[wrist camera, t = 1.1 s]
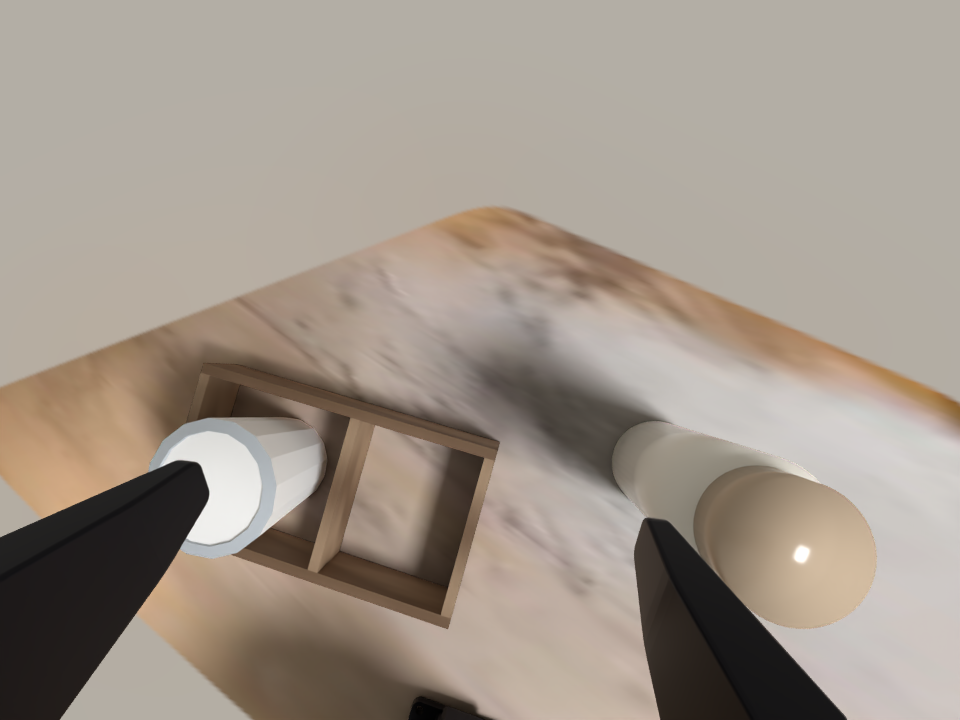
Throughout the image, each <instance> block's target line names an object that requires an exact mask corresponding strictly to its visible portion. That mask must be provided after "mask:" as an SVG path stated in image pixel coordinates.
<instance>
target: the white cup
mask: <svg viewBox="0 0 960 720" xmlns="http://www.w3.org/2000/svg"><path fill="white" fill-rule="evenodd" d="M176 460H186V461H194V462H197V463H199V464H200V465H201V467H202V470H203V473H204V476H205V479H206V482H207V485H208V488H209V491H210V495H209V499H208V502H207V504H206V506H205V508H204V509H203V511H202V513H201V514H200V516H199V518H198V519H197V521H196V523H195V524H194V526H193V528H192V529H191V531H190V533H189V534H188V536H187V538H186V539H185V541H184V543H183V544H182V546H181V548H180V550H182V551H183V552H185V553H186V554H190V555H195V556H200V557H205V558H210V559H213V558H217V557H222V556H226V555H230V554H234V553H238V552H239V551H240V550H242V549H243V548H244V547H246V546H247V545H248V544H250V543H251V542H252V541H254V540H255V539H256V538H258V537H259V536H260V535H261V534H263V533H264V532H265V531H266V530H268V529H269V528H270V527H271V526H273V525H274V524H275V523H276V522H278V521H279V520H280V519H281V518H282V517H284V516H285V515H286V514H287V513H289V512H290V511H291V510H292V509H294V508H295V507H296V506H297V505H299V504H300V503H301V502H302V501H304V500H305V499H306V498H307V497H309V496H310V495H311V494H312V493H314V492H315V491H316V490H317V488H318V487H319V485H320V483H321V482H322V480H323V478H324V476H325V472H326V466H327V454H326V450H325V445H324V442H323V440H322V439H321V437H320V436H319V435H318V433H317V432H316V430H315V429H314V428H313V427H311V426H310V425H308V424H306V423H305V422H303V421H302V420H299V419H293V418H287V417H242V418H206V419H202V420H198V421H194V422H190V423H187V424H183V425H182V426H181V427H180V428H178V429H177V430H176V431H174V432H173V433H172V434H171V435H169V436H168V437H167V438H165V439H164V440H163V442H162V443H161V445H160V447H159V448H158V450H157V452H156V454H155V455H154V457H153V459H152V460H151V462H150V466H149V472H150V471H153V470H155V469H157V468H160V467H162V466H164V465H166V464H169V463H171V462H173V461H176Z"/></svg>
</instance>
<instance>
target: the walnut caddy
mask: <svg viewBox="0 0 960 720" xmlns="http://www.w3.org/2000/svg"><path fill="white" fill-rule="evenodd" d="M240 385H244V386H247V387H250V388H254V389H257V390H260V391H264V392H267V393H270V394H274V395H277V396H280V397H284V398H287V399H290V400H294V401H297V402H300V403H304V404H307V405H310V406H313V407H317V408H320V409H323V410H327V411H330V412H333V413H337V414H340V415H343V416H347V417H350V421H349V425H348V428H347V432H346V436H345V439H344V443H343V446H342V450H341V453H340V457H339V460H338V464H337V467H336V471H335V474H334V478H333V481H332V485H331V488H330V492H329V496H328V499H327V503H326V506H325V510H324V513H323V517H322V520H321V524H320V527H319V531H318V534H317V538H316V541H315V543H313V542H310V541H307V540H304V539H301V538H298V537H295V536H292V535H289V534H286V533H283V532H280V531H277V530H274V529H271V528H269V529H268V530H266V531H265V532H264V533H263V534H261V535H260V536H259V537H258V538H256V539H255V540H254V541H252V542H251V543H250V544H248V545H247V546H246V547H244V548H243V549H242V550H240V551H239V552H238V553H234V554H231V555H233V556H236V557H239V558H242V559H245V560H248V561H251V562H254V563H257V564H260V565H263V566H265V567H268V568H271V569H274V570H277V571H280V572H283V573H286V574H289V575H292V576H295V577H297V578H300V579H303V580H306V581H309V582H312V583H315V584H318V585H321V586H324V587H327V588H329V589H332V590H335V591H338V592H341V593H344V594H347V595H350V596H353V597H356V598H359V599H361V600H364V601H367V602H370V603H373V604H376V605H379V606H382V607H385V608H388V609H391V610H394V611H396V612H399V613H402V614H405V615H408V616H411V617H414V618H417V619H420V620H423V621H426V622H428V623H431V624H434V625H437V626H440V627H443V628H446V629H448V627H449V624H450V620H451V617H452V613H453V609H454V606H455V602H456V599H457V595H458V591H459V588H460V584H461V581H462V577H463V573H464V570H465V566H466V563H467V559H468V555H469V552H470V548H471V545H472V541H473V537H474V534H475V530H476V527H477V523H478V519H479V516H480V512H481V509H482V505H483V501H484V498H485V494H486V491H487V487H488V483H489V480H490V476H491V473H492V469H493V465H494V462H495V458H496V455H497V451H498V447H499V444H500V442H498V441H494V440H491V439H487V438H484V437H481V436H477V435H474V434H471V433H467V432H464V431H460V430H457V429H454V428H450V427H447V426H443V425H440V424H437V423H433V422H430V421H427V420H423V419H420V418H416V417H413V416H410V415H406V414H403V413H399V412H396V411H393V410H389V409H386V408H383V407H379V406H376V405H372V404H369V403H366V402H362V401H359V400H356V399H352V398H349V397H345V396H342V395H339V394H335V393H332V392H328V391H325V390H322V389H318V388H315V387H312V386H308V385H305V384H301V383H298V382H295V381H291V380H288V379H285V378H281V377H278V376H274V375H271V374H268V373H264V372H261V371H257V370H254V369H251V368H247V367H244V366H241V365H237V364H217V363H203V366H202V370H201V373H200V377H199V380H198V384H197V387H196V391H195V394H194V398H193V401H192V405H191V408H190V411H189V415H188V418H187V422H186V424H187V423H190V422H194V421H198V420H202V419H206V418H230V417H231V414H232V410H233V407H234V403H235V400H236V396H237V393H238V389H239V386H240ZM375 425H377V426H380V427H383V428H387V429H390V430H393V431H397V432H400V433H403V434H407V435H410V436H413V437H417V438H420V439H423V440H427V441H430V442H433V443H437V444H440V445H443V446H447V447H450V448H453V449H457V450H460V451H463V452H467V453H470V454H473V455H477V456H480V457H483V458H484V461H483V465H482V468H481V472H480V475H479V479H478V483H477V486H476V490H475V493H474V497H473V500H472V504H471V508H470V511H469V515H468V518H467V522H466V526H465V529H464V533H463V536H462V540H461V544H460V547H459V551H458V554H457V558H456V562H455V565H454V569H453V572H452V576H451V580H450V583H449V587H448V588H447V587H444V586H441V585H438V584H435V583H432V582H429V581H426V580H423V579H420V578H417V577H414V576H412V575H409V574H406V573H403V572H400V571H397V570H394V569H391V568H388V567H385V566H382V565H379V564H376V563H373V562H370V561H367V560H364V559H361V558H358V557H355V556H352V555H349V554H346V553H343V552H340V547H341V543H342V540H343V536H344V533H345V529H346V526H347V522H348V519H349V515H350V512H351V508H352V505H353V501H354V497H355V494H356V490H357V487H358V483H359V480H360V476H361V473H362V469H363V466H364V462H365V458H366V455H367V451H368V448H369V444H370V441H371V437H372V434H373V430H374V427H375Z"/></svg>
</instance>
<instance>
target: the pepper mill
mask: <svg viewBox="0 0 960 720" xmlns="http://www.w3.org/2000/svg"><path fill="white" fill-rule="evenodd" d="M612 470H613V475H614V478H615V480H616V482H617V484H618V486H619V487H620V489H621V490H622V491H623V492H624V494H625V495H626V496H627V497H628V498H629V499H630V500H631V501H632V502H633V503H634V504H635V506H636V507H637V508H638V509H639V510H640V511H641V512H642V513H643V514H644V515H645V516H646V518H647V517H650V518H658V519H665V520H667V521H669V522H670V523H671V524H672V525H673V526H674V527H675V528H676V529H677V531H678V532H679V533H680V534H681V535H682V536H683V537H684V538H685V539H686V540H687V542H688V543H689V544H690V545H691V546H692V547H693V548H694V549H695V550H696V552H697V553H698V554H699V555H700V556H701V557H702V558H703V559H704V560H705V562H706V563H707V564H708V565H709V566H710V567H711V568H712V569H713V570H714V571H715V573H716V574H717V575H718V576H719V577H720V578H721V579H722V580H723V581H724V583H725V584H726V585H727V586H728V587H729V588H730V589H731V590H732V591H733V593H734V594H735V595H736V596H737V597H738V598H739V599H740V600H741V601H742V602H743V604H744V605H746V606H747V607H748V608H749V609H750V610H751V611H753V612H754V613H755V614H757V615H758V616H760V617H762V618H764V619H765V620H767V621H769V622H772V623H775V624H777V625H781V626H784V627H789V628H797V629H811V628H818V627H822V626H826V625H830V624H832V623H834V622H837V621H839V620H841V619H842V618H844V617H846V616H847V615H848V614H850V613H851V612H852V611H853V610H855V609H856V608H857V607H858V605H859V604H860V603H861V602H862V601H863V599H864V598H865V597H866V595H867V593H868V591H869V589H870V587H871V585H872V582H873V579H874V576H875V571H876V562H877V554H876V546H875V542H874V537H873V535H872V532H871V529H870V527H869V525H868V523H867V521H866V520H865V518H864V517H863V515H862V514H861V512H860V511H859V510H858V509H857V508H856V507H855V505H854V504H853V503H852V502H851V501H849V500H848V499H847V498H846V497H845V496H843V495H842V494H840V493H839V492H837V491H836V490H834V489H832V488H830V487H828V486H825V485H823V484H820V483H819V481H818V480H817V479H816V478H815V477H814V476H812V475H811V474H810V473H809V472H808V471H807V470H805V469H803V468H802V467H800V466H799V465H797V464H795V463H793V462H791V461H789V460H786V459H783V458H781V457H778V456H774V455H771V454H768V453H765V452H761V451H758V450H755V449H752V448H748V447H745V446H742V445H738V444H735V443H732V442H729V441H725V440H722V439H719V438H716V437H712V436H709V435H706V434H703V433H699V432H696V431H693V430H690V429H686V428H683V427H680V426H676V425H673V424H670V423H667V422H662V421H648V422H643V423H640V424H637V425H635V426H633V427H631V428H630V429H628V430H627V431H626V432H625V433H624V434H623V435H622V436H621V437H620V439H619V440H618V442H617V444H616V446H615V448H614V451H613V455H612Z"/></svg>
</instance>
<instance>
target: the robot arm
mask: <svg viewBox="0 0 960 720" xmlns="http://www.w3.org/2000/svg"><path fill="white" fill-rule="evenodd" d="M209 495H210V491H209V488H208V485H207V482H206V479H205V476H204V473H203V470H202V467H201V465H200V464H199V463H197V462H194V461H186V460H176V461H173V462H171V463H169V464H166V465H164V466H162V467H160V468H157V469H155V470H153V471H150V472H148V473H146V474H144V475H141V476H139V477H137V478H134V479H132V480H130V481H128V482H125V483H123V484H121V485H118V486H116V487H114V488H112V489H109V490H107V491H105V492H102V493H100V494H98V495H96V496H93V497H91V498H89V499H87V500H84V501H82V502H80V503H77V504H75V505H73V506H71V507H68V508H66V509H64V510H61V511H59V512H57V513H55V514H52V515H50V516H48V517H45V518H43V519H41V520H39V521H36V522H34V523H32V524H30V525H27V526H25V527H23V528H20V529H18V530H16V531H14V532H11V533H9V534H7V535H4V536H2V537H0V720H60V719H61V717H62V716H63V714H64V713H65V712H66V710H67V709H68V707H69V706H70V705H71V703H72V702H73V700H74V699H75V698H76V696H77V695H78V694H79V692H80V691H81V689H82V688H83V687H84V685H85V684H86V682H87V681H88V680H89V678H90V677H91V675H92V674H93V673H94V671H95V670H96V669H97V667H98V666H99V664H100V663H101V661H102V660H103V659H104V658H105V656H106V655H107V653H108V652H109V650H110V649H111V648H112V646H113V645H114V644H115V642H116V641H117V639H118V638H119V637H120V635H121V634H122V633H123V631H124V630H125V628H126V627H127V625H128V624H129V623H130V621H131V620H132V619H133V617H134V616H135V614H136V613H137V612H138V610H139V609H140V608H141V606H142V605H143V603H144V602H145V601H146V599H147V598H148V596H149V595H150V594H151V592H152V591H153V589H154V588H155V587H156V585H157V584H158V582H159V581H160V580H161V578H162V577H163V575H164V574H165V572H166V571H167V569H168V567H169V566H170V564H171V563H172V561H173V559H174V558H175V556H176V554H177V553H178V551H179V549H180V548H181V546H182V544H183V543H184V541H185V539H186V538H187V536H188V534H189V533H190V531H191V529H192V528H193V526H194V524H195V523H196V521H197V519H198V518H199V516H200V514H201V513H202V511H203V509H204V508H205V506H206V504H207V502H208V499H209ZM634 561H635V570H636V579H637V588H638V596H639V605H640V614H641V623H642V631H643V639H644V646H645V651H646V656H647V661H648V666H649V670H650V675H651V679H652V684H653V688H654V693H655V698H656V702H657V707H658V711H659V716H660V720H847V718H846V717H845V715H844V714H843V713H842V712H841V711H840V710H839V709H838V708H837V707H836V705H835V704H834V703H833V702H832V701H831V700H830V699H829V698H828V697H827V695H826V694H825V693H824V692H823V691H822V690H821V689H820V688H819V687H818V686H817V684H816V683H815V682H814V681H813V680H812V679H811V678H810V677H809V676H808V674H807V673H806V672H805V671H804V670H803V669H802V668H801V667H800V666H799V664H798V663H797V662H796V661H795V660H794V659H793V658H792V657H791V656H790V655H789V653H788V652H787V651H786V650H785V649H784V648H783V647H782V646H781V645H780V643H779V642H778V641H777V640H776V639H775V638H774V637H773V636H772V635H771V633H770V632H769V631H768V630H767V629H766V628H765V627H764V626H763V625H762V624H761V622H760V621H759V620H758V619H757V618H756V617H755V616H754V615H753V614H752V612H751V611H750V610H749V609H748V608H747V607H746V606H745V605H744V604H743V602H742V601H741V600H740V599H739V598H738V597H737V596H736V595H735V594H734V593H733V591H732V590H731V589H730V588H729V587H728V586H727V585H726V584H725V583H724V581H723V580H722V579H721V578H720V577H719V576H718V575H717V574H716V573H715V571H714V570H713V569H712V568H711V567H710V566H709V565H708V564H707V563H706V562H705V560H704V559H703V558H702V557H701V556H700V555H699V554H698V553H697V552H696V550H695V549H694V548H693V547H692V546H691V545H690V544H689V543H688V542H687V540H686V539H685V538H684V537H683V536H682V535H681V534H680V533H679V532H678V531H677V529H676V528H675V527H674V526H673V525H672V524H671V523H670V522H669V521H667V520H665V519H658V518H650V517H647V518H645V519H644V520H643V522H642V524H641V528H640V531H639V535H638V538H637V541H636V545H635V550H634ZM418 706H421V707H422V708H423V709H422V710H420V709H418ZM408 720H484V719H482V718H479V717H476V716H473V715H470V714H468V713H465V712H462V711H459V710H457V709H454V708H451V707H448V706H445V705H443V704H440V703H437V702H434V701H432V700H429V699H426V698H423V697H418V698H416V699H415V700H414V702H413V705H412V708H411V711H410V715H409V719H408Z"/></svg>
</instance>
